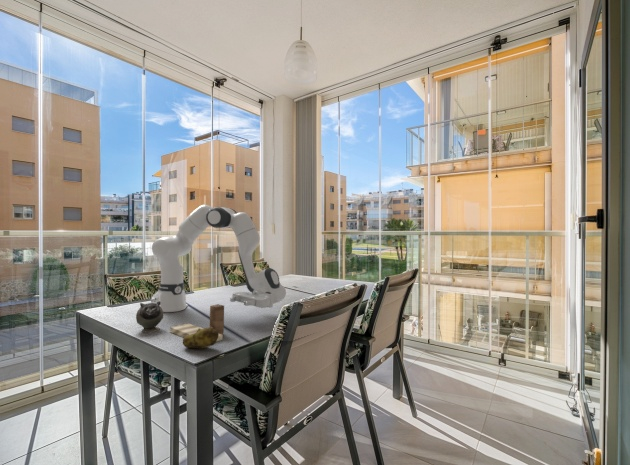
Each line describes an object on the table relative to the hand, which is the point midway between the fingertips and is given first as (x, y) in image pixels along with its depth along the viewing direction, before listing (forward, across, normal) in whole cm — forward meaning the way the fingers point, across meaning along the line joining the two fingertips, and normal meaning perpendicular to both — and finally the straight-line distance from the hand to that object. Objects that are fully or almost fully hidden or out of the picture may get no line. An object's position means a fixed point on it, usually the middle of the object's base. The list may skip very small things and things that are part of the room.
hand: (237, 301), depth 144 cm
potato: (+26, +10, +12) cm, 30 cm away
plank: (+19, -4, +12) cm, 22 cm away
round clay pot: (+27, -24, +13) cm, 38 cm away
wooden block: (+15, +2, +12) cm, 19 cm away
